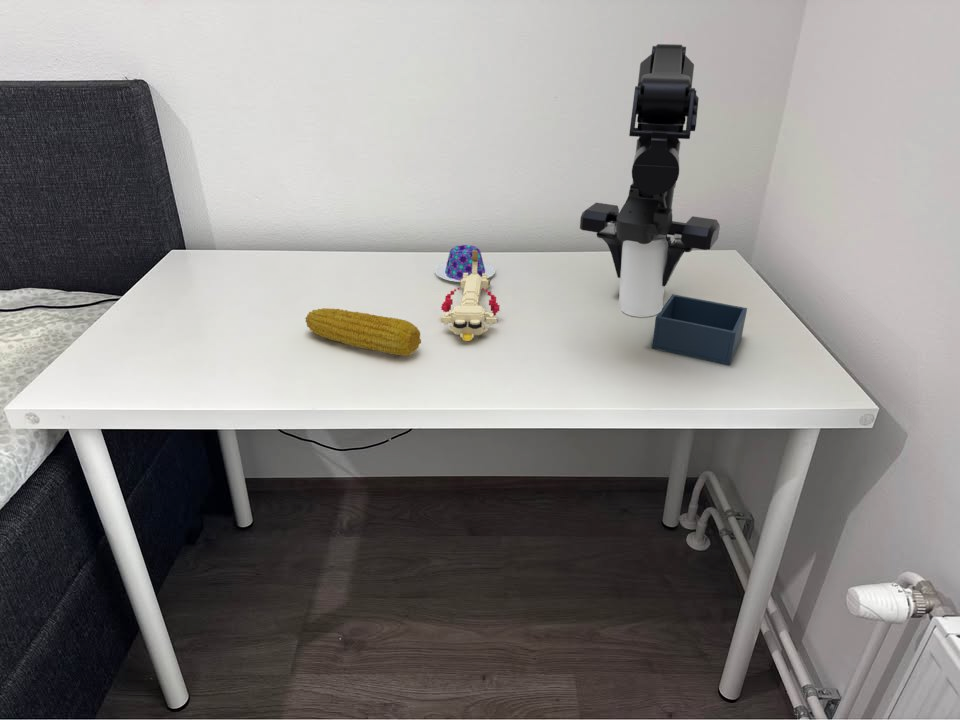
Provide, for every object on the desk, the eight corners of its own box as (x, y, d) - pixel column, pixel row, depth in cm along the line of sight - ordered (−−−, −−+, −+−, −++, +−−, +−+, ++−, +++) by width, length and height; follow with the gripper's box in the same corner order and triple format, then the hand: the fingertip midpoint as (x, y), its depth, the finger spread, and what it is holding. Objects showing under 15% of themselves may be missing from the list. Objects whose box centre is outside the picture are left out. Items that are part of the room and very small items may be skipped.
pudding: (441, 262, 147) (440, 237, 145) (498, 264, 146) (498, 240, 143) (430, 283, 137) (429, 258, 135) (491, 287, 136) (491, 261, 133)
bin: (651, 348, 114) (655, 316, 111) (667, 323, 121) (672, 294, 119) (729, 365, 109) (735, 333, 106) (741, 338, 117) (747, 308, 114)
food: (425, 350, 113) (423, 316, 110) (407, 366, 108) (405, 331, 106) (316, 326, 120) (312, 294, 118) (296, 340, 116) (291, 307, 113)
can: (666, 304, 108) (673, 229, 102) (656, 321, 103) (663, 243, 97) (625, 298, 110) (630, 224, 105) (613, 315, 105) (617, 237, 100)
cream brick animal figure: (449, 292, 137) (436, 341, 114) (449, 247, 133) (435, 289, 110) (501, 293, 136) (497, 342, 113) (501, 248, 133) (498, 291, 110)
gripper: (569, 180, 94) (562, 288, 102) (710, 198, 87) (691, 314, 94) (597, 163, 103) (589, 263, 111) (728, 178, 95) (710, 285, 103)
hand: (641, 281), depth 104 cm, fingers closed on can, 6 cm apart
